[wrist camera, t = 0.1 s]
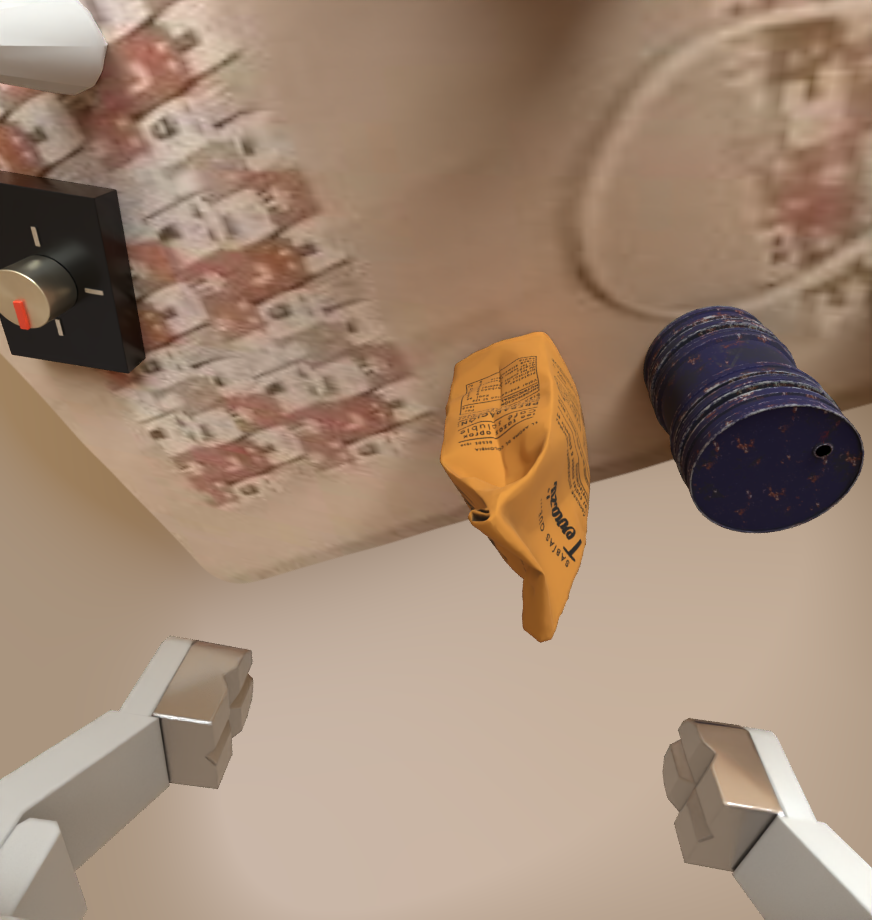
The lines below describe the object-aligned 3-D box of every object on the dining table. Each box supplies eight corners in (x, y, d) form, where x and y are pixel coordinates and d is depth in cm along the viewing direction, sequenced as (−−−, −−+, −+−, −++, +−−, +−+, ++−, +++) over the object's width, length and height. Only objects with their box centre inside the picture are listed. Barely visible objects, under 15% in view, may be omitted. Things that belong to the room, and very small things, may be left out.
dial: (12, 250, 44) (-25, 266, 41) (70, 260, 44) (38, 276, 41) (28, 306, 47) (-5, 325, 44) (83, 315, 47) (53, 334, 44)
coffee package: (484, 467, 56) (475, 669, 38) (441, 351, 49) (405, 529, 31) (590, 443, 53) (634, 647, 35) (559, 317, 47) (594, 491, 29)
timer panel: (-17, 167, 44) (-49, 175, 41) (116, 189, 44) (92, 198, 41) (34, 340, 52) (10, 355, 50) (146, 358, 52) (127, 374, 50)
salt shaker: (44, 86, 40) (-116, 103, 30) (18, -22, 37) (-173, -44, 27) (128, 97, 40) (-3, 118, 30) (110, -10, 37) (-46, -28, 26)
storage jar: (676, 434, 52) (729, 556, 40) (618, 353, 48) (657, 460, 36) (792, 372, 48) (891, 487, 35) (739, 277, 44) (830, 370, 32)
